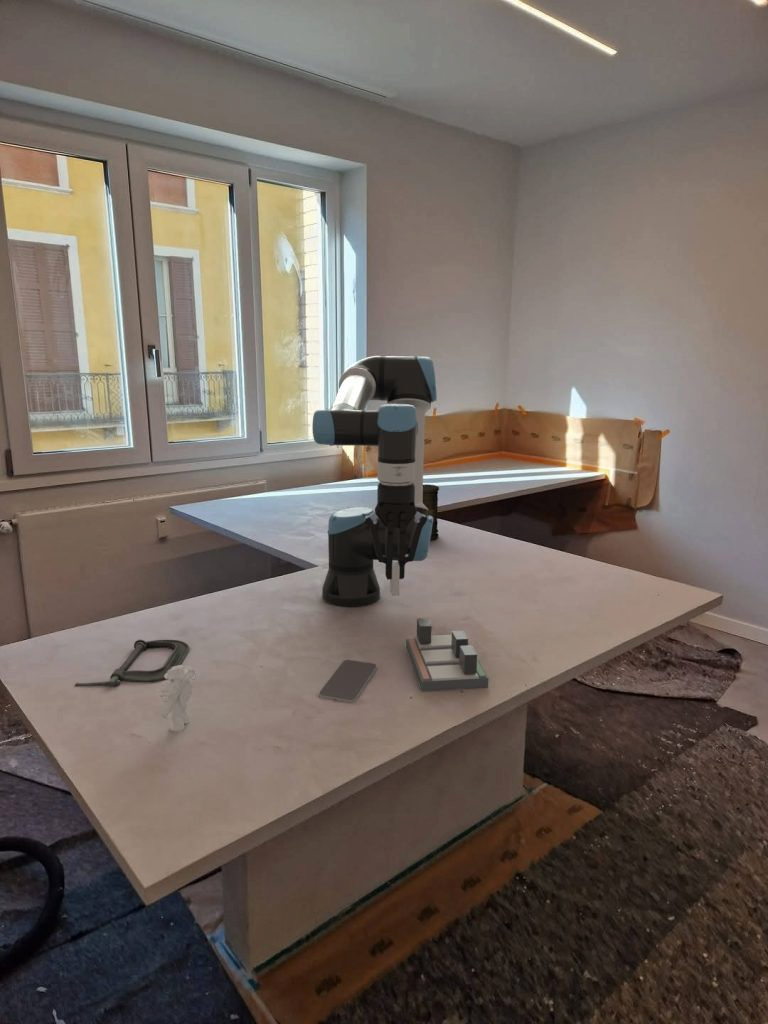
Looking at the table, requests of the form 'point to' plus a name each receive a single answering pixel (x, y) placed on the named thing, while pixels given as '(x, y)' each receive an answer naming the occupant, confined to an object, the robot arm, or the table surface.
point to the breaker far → (424, 631)
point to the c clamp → (146, 676)
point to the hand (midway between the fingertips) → (394, 593)
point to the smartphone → (348, 681)
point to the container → (431, 506)
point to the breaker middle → (458, 642)
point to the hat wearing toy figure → (178, 695)
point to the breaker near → (468, 659)
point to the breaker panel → (441, 666)
